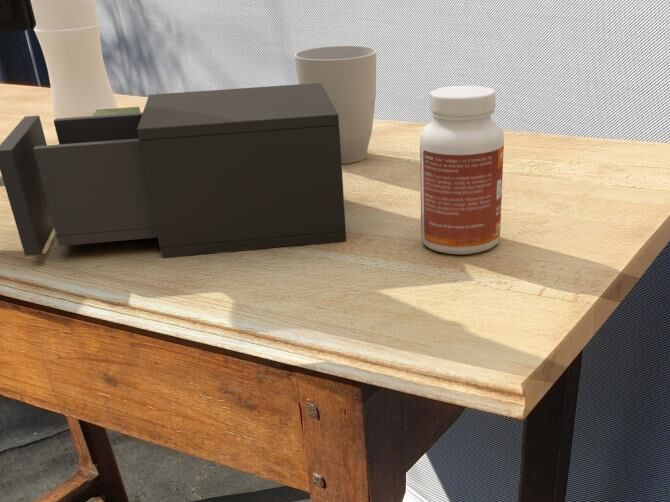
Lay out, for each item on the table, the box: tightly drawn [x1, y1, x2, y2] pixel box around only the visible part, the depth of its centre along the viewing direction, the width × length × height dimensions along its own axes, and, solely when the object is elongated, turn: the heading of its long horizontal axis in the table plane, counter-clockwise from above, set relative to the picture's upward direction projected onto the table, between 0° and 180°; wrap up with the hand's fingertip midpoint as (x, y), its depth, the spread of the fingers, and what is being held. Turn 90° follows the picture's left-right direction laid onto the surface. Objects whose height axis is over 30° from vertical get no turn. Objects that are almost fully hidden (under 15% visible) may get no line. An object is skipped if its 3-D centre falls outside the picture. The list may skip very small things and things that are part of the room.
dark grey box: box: [137, 83, 347, 258], centre depth 68 cm, size 15×13×10 cm
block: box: [93, 106, 142, 116], centre depth 89 cm, size 5×5×5 cm
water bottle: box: [31, 0, 118, 119], centre depth 93 cm, size 7×7×25 cm
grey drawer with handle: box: [0, 112, 158, 257], centre depth 67 cm, size 19×11×8 cm, turn 99°
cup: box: [293, 45, 377, 165], centre depth 85 cm, size 8×8×10 cm
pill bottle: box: [419, 85, 505, 256], centre depth 62 cm, size 6×6×11 cm
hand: (14, 29), depth 67 cm, fingers closed
